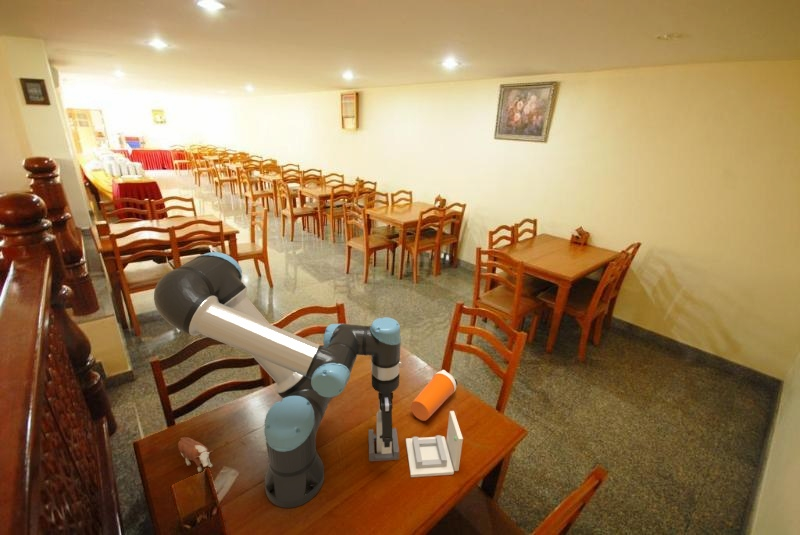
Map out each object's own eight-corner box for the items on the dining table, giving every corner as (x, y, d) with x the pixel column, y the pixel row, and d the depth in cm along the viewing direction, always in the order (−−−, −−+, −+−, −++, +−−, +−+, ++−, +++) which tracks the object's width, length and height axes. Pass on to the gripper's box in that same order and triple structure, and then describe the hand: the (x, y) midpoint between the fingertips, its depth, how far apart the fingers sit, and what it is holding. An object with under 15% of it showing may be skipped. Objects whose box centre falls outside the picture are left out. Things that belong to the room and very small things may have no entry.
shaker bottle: (436, 415, 109) (464, 380, 124) (415, 393, 111) (445, 362, 127) (423, 428, 114) (451, 393, 129) (403, 407, 117) (434, 375, 132)
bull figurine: (206, 484, 92) (200, 462, 89) (178, 459, 98) (172, 437, 95) (221, 471, 95) (217, 449, 92) (193, 448, 102) (188, 427, 99)
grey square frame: (369, 461, 100) (369, 453, 99) (368, 436, 108) (368, 429, 107) (398, 459, 101) (399, 451, 100) (396, 435, 109) (396, 428, 108)
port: (410, 477, 96) (413, 444, 91) (405, 441, 107) (407, 410, 103) (459, 474, 97) (463, 441, 93) (449, 438, 108) (453, 408, 104)
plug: (376, 454, 102) (377, 417, 97) (376, 442, 106) (376, 406, 101) (390, 453, 103) (391, 416, 98) (389, 441, 106) (390, 405, 101)
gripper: (404, 406, 83) (402, 470, 91) (395, 345, 106) (394, 400, 114) (373, 407, 82) (373, 472, 90) (370, 346, 105) (370, 402, 113)
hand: (384, 432), depth 102 cm, fingers open, 13 cm apart
